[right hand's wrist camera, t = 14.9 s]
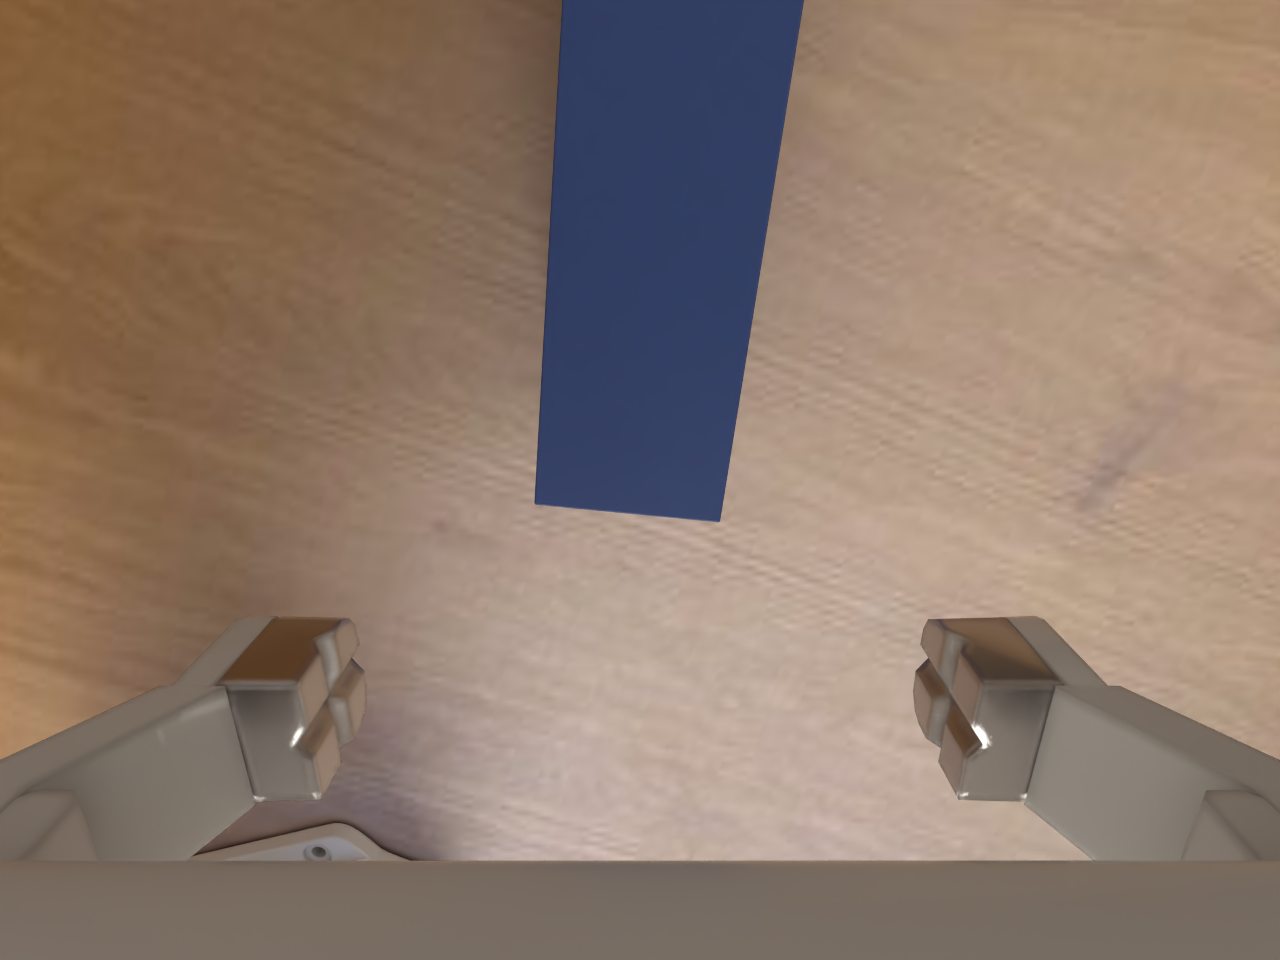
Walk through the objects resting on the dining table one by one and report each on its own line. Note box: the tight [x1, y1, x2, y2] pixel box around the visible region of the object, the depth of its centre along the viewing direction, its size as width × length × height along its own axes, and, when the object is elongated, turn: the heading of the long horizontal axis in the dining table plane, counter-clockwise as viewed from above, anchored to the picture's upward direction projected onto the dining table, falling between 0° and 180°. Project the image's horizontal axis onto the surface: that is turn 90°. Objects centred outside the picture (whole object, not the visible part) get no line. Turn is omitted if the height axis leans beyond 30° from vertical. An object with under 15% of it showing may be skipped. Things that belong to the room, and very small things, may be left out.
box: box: [535, 0, 804, 522], centre depth 24 cm, size 26×6×12 cm, turn 174°
